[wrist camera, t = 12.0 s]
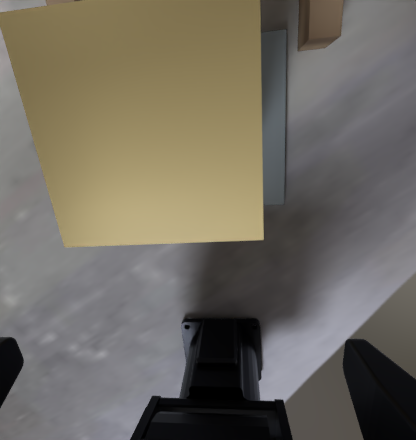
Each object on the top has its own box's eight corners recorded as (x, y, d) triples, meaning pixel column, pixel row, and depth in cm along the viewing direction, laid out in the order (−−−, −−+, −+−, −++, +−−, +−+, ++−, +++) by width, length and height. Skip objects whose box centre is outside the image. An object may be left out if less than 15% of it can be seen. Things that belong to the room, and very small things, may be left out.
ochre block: (245, 162, 18) (263, 240, 6) (169, 167, 18) (64, 247, 7) (242, 75, 16) (259, -26, 5) (158, 84, 16) (-4, 12, 5)
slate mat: (282, 201, 19) (284, 204, 18) (143, 208, 20) (140, 211, 19) (284, 32, 15) (286, 29, 15) (116, 52, 17) (111, 50, 16)
